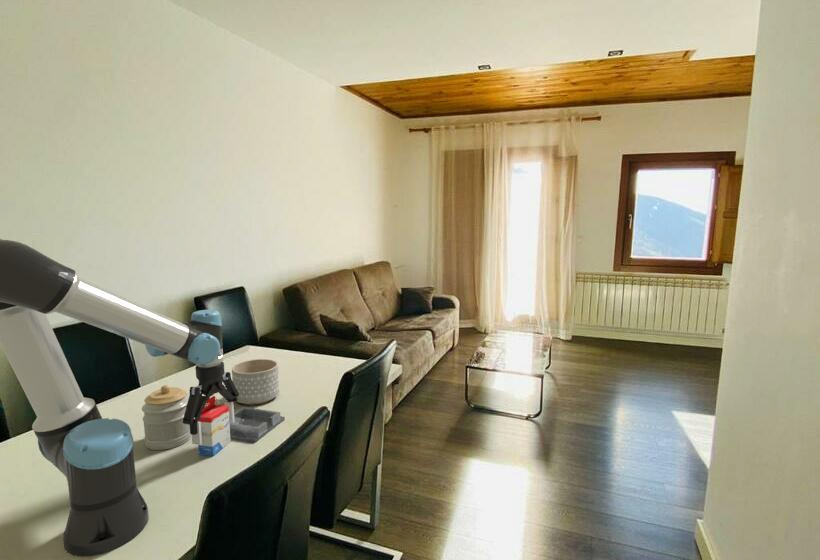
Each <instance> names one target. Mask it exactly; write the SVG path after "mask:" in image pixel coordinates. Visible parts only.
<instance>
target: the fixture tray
mask: <svg viewBox="0 0 820 560" xmlns="http://www.w3.org/2000/svg"><path fill="white" fill-rule="evenodd" d="M285 417H286V416H281V412H279V411H275V410H269V409H267V410H266V409H260V408H253V407H247V406H246V407H245V406H242V407H241V408H240V409H237V410H236V411H234V420H235V422H234V423H229V424H230V440H235V441H236V440H237V441H243V442H249V443H254V444H255V443H257V442H259V440H261V439H262V438H264V436H266V435H267V434H268V433H270V432H271V431H273V430H274V429H275V428H276V427H277V426H279V425H280V424H281V423H283V422H284V421H285V419H286V418H285Z"/></svg>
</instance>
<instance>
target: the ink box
mask: <svg viewBox="0 0 820 560" xmlns="http://www.w3.org/2000/svg"><path fill="white" fill-rule="evenodd" d="M207 404H208V405H207ZM198 422H201V433H202V444H201V445H198V446H197V447H198V454H199V455H201V456H202V455H204V456H210V457H211V456H212V457H214V456H215V455H216V454H218V453H219V452H220V451H221V450H223V449H224V448H225V447H227V446H228V445H229V444H230V443H231V439H230V424H229V406H225V404H216V396H215V395H212V396H210V398H209V400H207V402H206V404H205V407H204V409H203V411H202V414H201V416H200V418H199V421H198Z"/></svg>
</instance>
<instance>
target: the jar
mask: <svg viewBox="0 0 820 560" xmlns="http://www.w3.org/2000/svg"><path fill="white" fill-rule="evenodd" d="M187 394H188V392H187V390H185V389H182V388H179V387H175V386H174V387H171V386H170V385H169V384H165V385H162V386H161V387H160V389H156V390H154V391H153V392H151V393H150V394H148V396H146V397H145V399H144V400H143V401H144V404H143V405H142V406H141V411H142V412H143V413H144V414H143V415H144V416H143V417H142V421H143V429H144V430H143V431H144V437H143V438H144V443H145V447H146V448H148V449H150V450H153V451H155V450H156V451H160V450H162V451H163V450H169V449H174V448H177V447H179V446H181V445H183V444H185V443H186V442H188V441H190V439H192V434H190V425H189V424H183V418H184V414H185V410H186V407H187V403H188V399H189V396H187Z"/></svg>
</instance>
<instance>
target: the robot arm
mask: <svg viewBox="0 0 820 560" xmlns="http://www.w3.org/2000/svg"><path fill="white" fill-rule="evenodd" d="M52 313H58V314H61V315H63V316H66V317H68V318H71V319H74V320H76V321H79V322H83V323H85V324H88V325H90V326H93V327H96V328H99V329H102V330H104V331H107V332H109V333H111V334H112V333H113V334H116V335H117V336H120V337H123V338H125V339H129V340H132V341H134V342H136V343H140V344H143V345H144V346H145V349H146V351H147V353H148V354H149V355H150V356H151V357H154V358H157V357H161V356H162V357H164V356H166V355H172V356H174V357H177V358H180V359H183V360H185V361H188V362H191V363H193V364H195V377H196V379H197V381H198V385H197V386H190V387H189V396H188V397H189V399H188V403H187V407H186V410H185V414H184V418H183V424H189V425H190V434H192V437H191V443H192V445H201V444H202V433H201V422H198V421H199V418H200V416H201V414H202V411H203V409H204V407H206V405H207V403H206V402H207V400H209V399H210V398H211V397H213V396H215V394H219V395H220V396H221V397H223V398H224V399H225V401H224V404H223V405H225V406H229V423H234V422H235V420H234V413H235V409H236V408H235V402H237V398H236V397H238V396H239V393H238V391H237V389H236V387H235V385H234V383H233V380H232V374H231V372H230V371H225V363H224V350H223V347H224V345H223V327H222V325H223V322H222V317H221V314H220V313H221V312H219V311H218V310H215V309H202V310H197V311H194V312H192V313H191V318H190V320H188V321H183V322H182V321H181V322H180V321H178V320H175V319H174V318H172V317H171V318H170V317H168V316H166V315H164V314H162V313H160V312H157V311H155V310H153V309H151V308H148V307H146V306H143V305H142V304H138V303H136V302H134V301H132V300H130V299H127V298H126V297H123V296H121V295H119V294H116V293H114V292H111V291H110V290H107V289H105V288H102V287H101V286H98V285H95V284H93V283H91V282H88V281H86V280H85V279H82V278H80V277H79V275H78V273H77V271H76V269H72V268H70V267H68V266H66V265H64V264H61V263H60V262H58V261H56V260H55V259H52V258H51V257H48V256H47V255H45V254H44V253H41V252H40V251H38V250H37V249H35V248H33V247H30V246H29V245H28V244H26V243H22V242H20V241H15V240H10V239H2V238H0V346H1V348H2V350H3V353H4V354H5V356H6V359H7V361H8V362H9V364H10V367H11V368H12V370H13V372H14V374H15V376H16V378H17V380H18V382H19V384H20V386H21V388H22V390H23V391H24V394H25V396H26V398H27V399H28V402H29V404H30V407H31V408H32V410H33V411H34V414H35V416H36V419H35V420H34V421H33V423H32V425H31V428H32V430H33V432H34V434H35V436H36V438H37V446H38V449H39V452H40V454H41V455H42V456H43V458H45V459H46V460H47V461H48V462H50V463H51V464H52V465H54V467H55V468H57V470H58V471H59V472H61V473H62V475H63V476H64V477H66V481H67V487H68V495H69V496H68V497H69V504H70V510H69V514H68V517H67V521H66V526H65V528H64V532H63V535H62V540H63V541H62V542H63V547H64V550H65V552H66V551H67V552H66V553H68V554H69V553H70V554H69V555H71V554H72V555H73V556H75V555H77V556H76V557H88V556H89V557H90V556H96V555H100V554H103V553H107V552H109V551H112V550H115V549H117V548H119V547H121V546H123V545H125V544H126V543H128V542H130V541H131V540H132V539H134V538H135V537H136V536H138V535H139V534H140V533H141V532H142V531H143V530H144V529H145V527H146V526H147V524H148V521H149V517H150V516H149V507H148V505H147V502H146V501H145V499H144V497H143V496H142V494H141V492H140V491H139V489H138V488H137V479H136V478H137V477H136V476H137V475H136V468H135V467H136V465H135V455H134V454H135V453H134V437H133V434H132V430H131V427H130V425H129V424H128V423H127V422H126V421H124V420H122V419H118V418H112V419H110V418H108V417H106V418H103V417H102V414H101V413H100V411H99V408H98V405H97V404H96V402H95V400H94V399H93V398H90V397H84V395H83V393H82V391H81V388H80V386H79V384H78V382H77V380H76V378H75V375H74V373H73V371H72V369H71V367H70V365H69V362H68V361H67V360H68V359H67V358H66V356H65V353H64V351H63V349H62V347H61V344H60V343H59V341H58V339H57V336H56V334H55V332H54V329H53V328H52V325H51V323H50V321H49V318H48V316H47V315H49V314H52ZM205 404H206V405H205ZM72 555H71V556H72Z"/></svg>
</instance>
